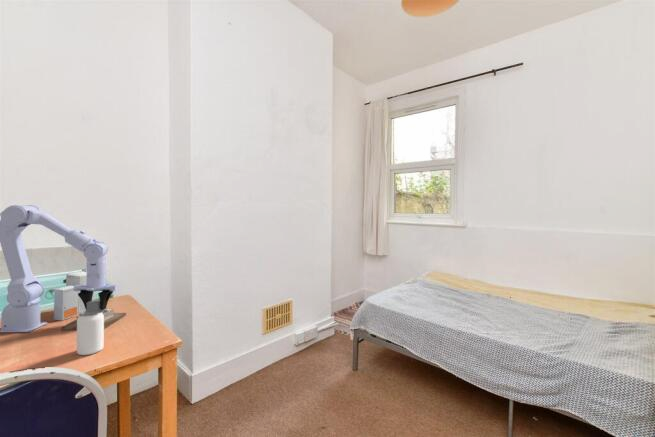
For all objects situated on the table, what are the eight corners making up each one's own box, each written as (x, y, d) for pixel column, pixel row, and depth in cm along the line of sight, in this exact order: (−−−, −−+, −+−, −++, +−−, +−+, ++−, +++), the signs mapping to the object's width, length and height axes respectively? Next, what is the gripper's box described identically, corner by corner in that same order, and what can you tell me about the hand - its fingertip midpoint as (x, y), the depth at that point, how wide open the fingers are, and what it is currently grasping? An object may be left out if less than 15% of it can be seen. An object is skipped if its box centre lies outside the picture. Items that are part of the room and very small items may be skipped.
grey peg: (85, 321, 109) (86, 302, 110) (93, 317, 113) (93, 299, 114) (97, 321, 110) (98, 302, 110) (104, 317, 114) (105, 299, 114)
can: (87, 345, 94) (87, 308, 93) (108, 345, 94) (108, 308, 94) (71, 356, 87) (71, 316, 87) (94, 355, 88) (94, 316, 87)
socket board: (61, 329, 104) (61, 320, 104) (89, 315, 118) (89, 306, 118) (103, 329, 106) (103, 319, 106) (125, 315, 120) (126, 306, 120)
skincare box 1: (62, 320, 112) (62, 290, 112) (53, 319, 113) (53, 289, 113) (78, 315, 118) (78, 286, 118) (70, 314, 119) (70, 285, 118)
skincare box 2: (64, 310, 122) (64, 274, 122) (81, 305, 129) (81, 270, 128) (78, 313, 120) (78, 276, 119) (95, 308, 126) (95, 272, 126)
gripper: (67, 276, 107) (67, 313, 107) (109, 276, 108) (109, 313, 109) (81, 272, 114) (81, 306, 114) (121, 272, 115) (121, 306, 116)
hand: (96, 309), depth 112 cm, fingers open, 5 cm apart
